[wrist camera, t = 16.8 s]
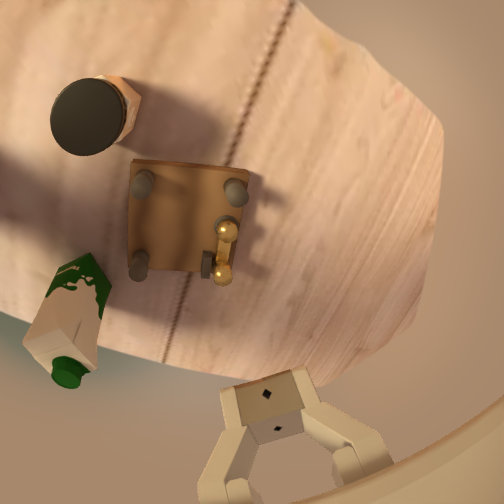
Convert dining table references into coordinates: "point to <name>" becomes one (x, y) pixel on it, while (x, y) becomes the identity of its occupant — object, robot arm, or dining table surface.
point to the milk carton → (70, 322)
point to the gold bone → (224, 251)
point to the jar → (93, 114)
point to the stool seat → (180, 214)
